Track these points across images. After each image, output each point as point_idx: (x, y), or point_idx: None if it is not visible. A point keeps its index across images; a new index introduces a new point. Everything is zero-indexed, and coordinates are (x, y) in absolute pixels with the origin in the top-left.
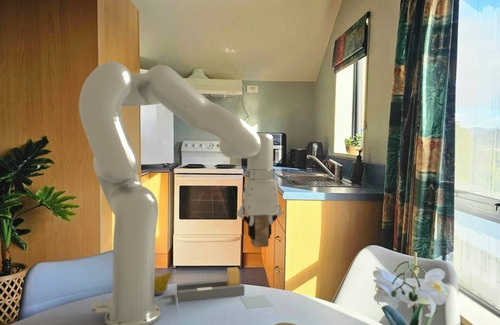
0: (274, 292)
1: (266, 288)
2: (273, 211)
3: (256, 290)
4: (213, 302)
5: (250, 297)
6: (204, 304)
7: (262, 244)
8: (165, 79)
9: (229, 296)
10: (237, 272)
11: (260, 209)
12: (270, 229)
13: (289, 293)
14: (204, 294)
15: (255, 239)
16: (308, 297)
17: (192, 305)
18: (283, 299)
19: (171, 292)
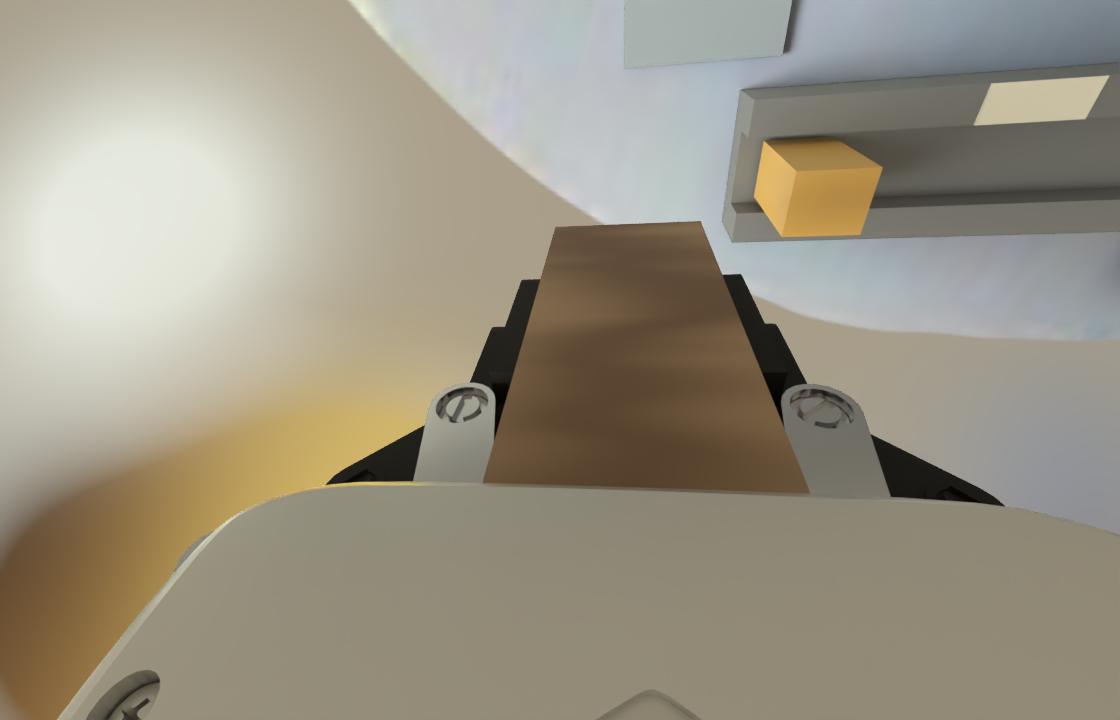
0: (547, 126)
1: (575, 192)
2: (321, 538)
3: (636, 175)
4: (959, 40)
5: (719, 46)
6: (1032, 16)
7: (621, 233)
8: None
9: (839, 85)
10: (807, 166)
11: (761, 652)
12: (491, 359)
13: (467, 94)
14: (1033, 74)
15: (712, 257)
16: (367, 6)
17: (1116, 14)
18: (522, 2)
19: (1096, 241)
